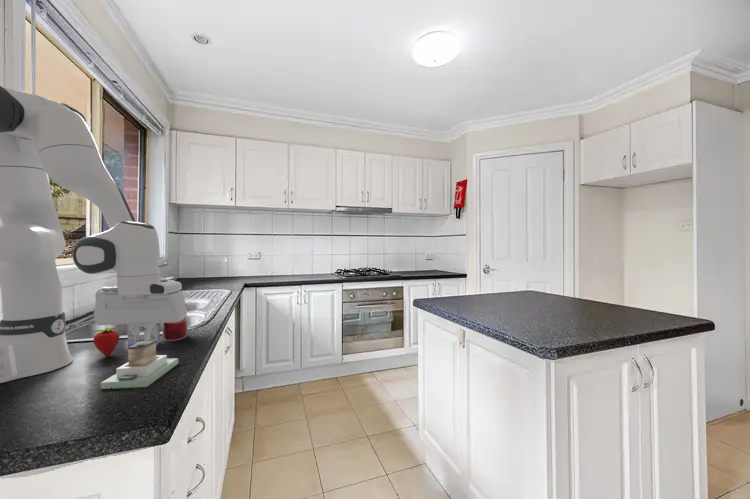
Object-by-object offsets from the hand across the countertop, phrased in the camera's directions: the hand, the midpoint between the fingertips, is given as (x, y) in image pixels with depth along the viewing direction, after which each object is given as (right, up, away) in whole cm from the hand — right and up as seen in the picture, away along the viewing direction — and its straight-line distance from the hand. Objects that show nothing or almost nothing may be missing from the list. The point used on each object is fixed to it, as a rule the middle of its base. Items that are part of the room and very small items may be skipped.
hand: (142, 340), depth 81 cm
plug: (0, -7, 0) cm, 7 cm away
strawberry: (-20, -9, +14) cm, 26 cm away
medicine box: (-16, -9, +23) cm, 29 cm away
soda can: (-11, -8, +31) cm, 33 cm away
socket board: (0, -9, 0) cm, 9 cm away
